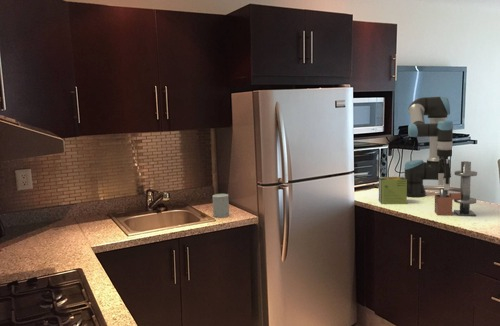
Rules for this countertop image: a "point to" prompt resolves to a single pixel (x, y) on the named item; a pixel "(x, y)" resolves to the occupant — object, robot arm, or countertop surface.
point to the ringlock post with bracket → (458, 195)
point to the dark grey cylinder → (443, 192)
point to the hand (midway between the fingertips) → (443, 187)
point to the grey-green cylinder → (220, 205)
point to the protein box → (393, 190)
